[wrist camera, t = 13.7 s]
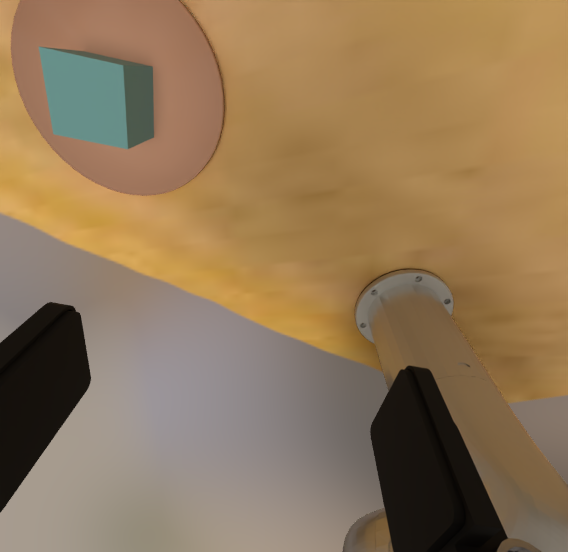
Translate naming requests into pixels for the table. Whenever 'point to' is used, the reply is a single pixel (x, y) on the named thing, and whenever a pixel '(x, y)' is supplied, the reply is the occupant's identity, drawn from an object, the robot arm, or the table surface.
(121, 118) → the teal block
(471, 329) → the table surface
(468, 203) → the table surface
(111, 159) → the terracotta disc
